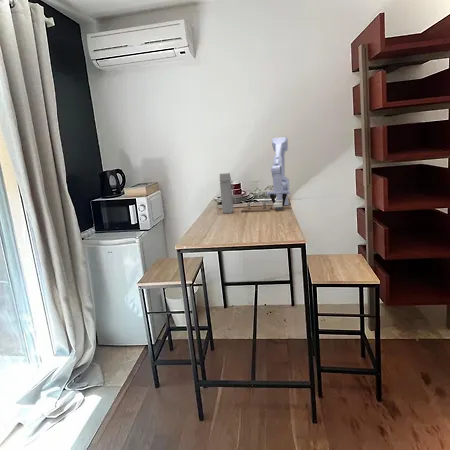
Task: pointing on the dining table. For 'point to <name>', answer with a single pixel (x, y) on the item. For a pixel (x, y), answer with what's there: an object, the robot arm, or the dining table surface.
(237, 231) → the dining table surface
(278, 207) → the block
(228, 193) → the water bottle
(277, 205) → the shelf board
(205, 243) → the dining table surface
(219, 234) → the dining table surface
